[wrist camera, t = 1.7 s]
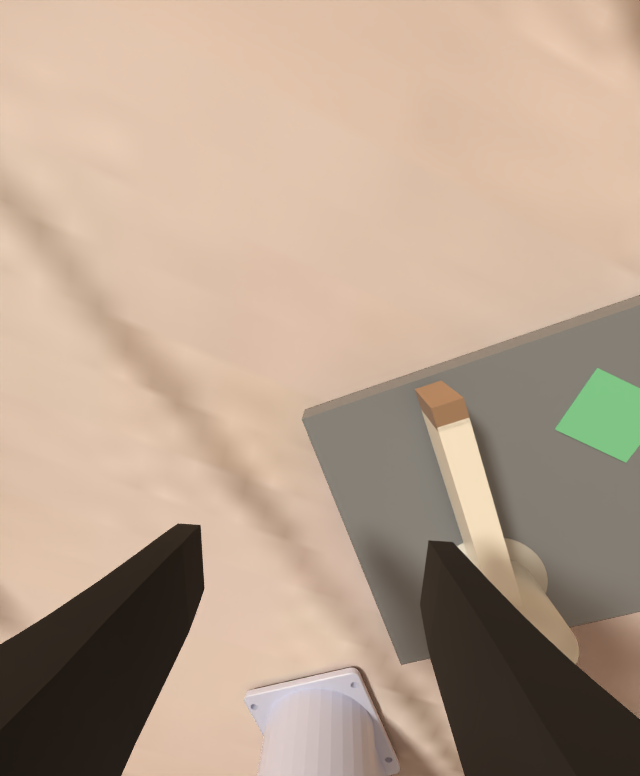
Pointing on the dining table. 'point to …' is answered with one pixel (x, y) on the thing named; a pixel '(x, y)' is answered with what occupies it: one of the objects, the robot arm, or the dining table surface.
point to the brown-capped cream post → (484, 513)
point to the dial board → (502, 468)
